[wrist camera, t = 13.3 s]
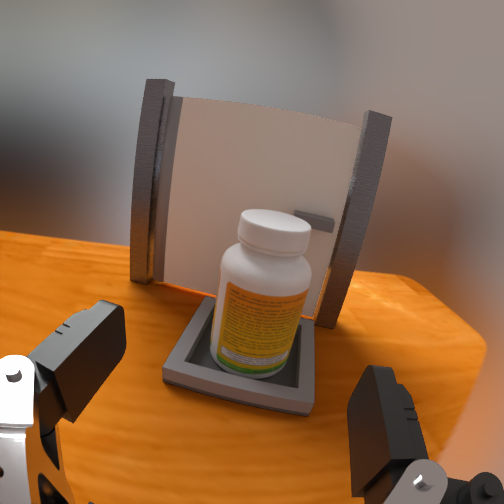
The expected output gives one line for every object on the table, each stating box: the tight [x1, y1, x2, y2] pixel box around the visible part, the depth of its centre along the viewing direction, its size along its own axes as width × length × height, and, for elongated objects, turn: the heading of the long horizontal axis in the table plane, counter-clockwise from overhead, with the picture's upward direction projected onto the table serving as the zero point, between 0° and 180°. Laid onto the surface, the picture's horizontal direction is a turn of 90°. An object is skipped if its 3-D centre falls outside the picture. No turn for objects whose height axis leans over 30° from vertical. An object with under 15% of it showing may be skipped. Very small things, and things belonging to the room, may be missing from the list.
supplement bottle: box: [210, 209, 312, 379], centre depth 19 cm, size 5×5×10 cm
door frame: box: [130, 79, 392, 329], centre depth 24 cm, size 19×2×18 cm, turn 81°
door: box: [153, 96, 361, 317], centre depth 23 cm, size 15×3×16 cm, turn 81°
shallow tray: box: [163, 296, 315, 416], centre depth 20 cm, size 9×9×1 cm
